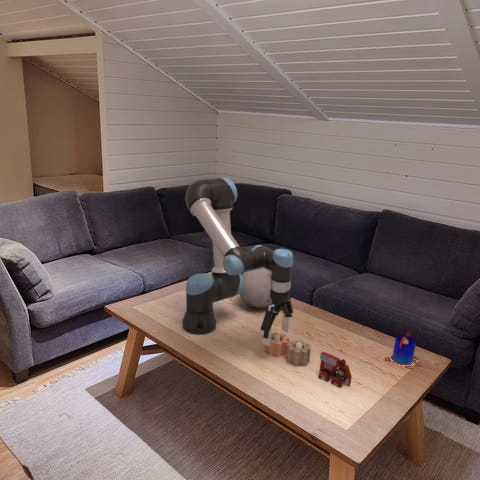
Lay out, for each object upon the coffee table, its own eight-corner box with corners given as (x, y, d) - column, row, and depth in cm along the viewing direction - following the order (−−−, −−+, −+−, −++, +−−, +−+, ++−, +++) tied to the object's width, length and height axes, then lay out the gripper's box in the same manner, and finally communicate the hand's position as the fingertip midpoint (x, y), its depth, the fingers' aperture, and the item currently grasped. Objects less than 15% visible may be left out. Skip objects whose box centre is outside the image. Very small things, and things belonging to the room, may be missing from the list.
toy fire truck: (344, 394, 155) (347, 368, 152) (313, 379, 163) (316, 355, 159) (353, 385, 160) (356, 360, 157) (323, 371, 168) (325, 347, 165)
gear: (284, 364, 169) (285, 350, 167) (287, 351, 177) (289, 338, 175) (308, 368, 167) (309, 354, 165) (310, 355, 175) (311, 342, 173)
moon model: (252, 318, 206) (254, 278, 200) (229, 302, 222) (230, 264, 216) (286, 309, 216) (288, 271, 210) (262, 293, 232) (264, 258, 226)
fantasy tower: (410, 372, 169) (415, 345, 165) (381, 360, 177) (385, 333, 173) (422, 360, 177) (427, 334, 174) (394, 349, 185) (398, 323, 181)
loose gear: (261, 351, 177) (261, 338, 175) (273, 342, 184) (274, 330, 182) (279, 360, 172) (280, 346, 170) (292, 350, 179) (293, 337, 177)
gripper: (270, 303, 158) (266, 354, 165) (304, 282, 177) (299, 328, 184) (253, 296, 162) (250, 347, 169) (288, 276, 181) (284, 322, 188)
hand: (275, 337), depth 176 cm, fingers open, 13 cm apart
